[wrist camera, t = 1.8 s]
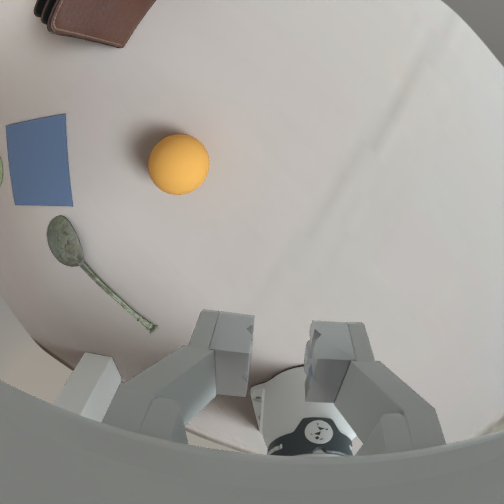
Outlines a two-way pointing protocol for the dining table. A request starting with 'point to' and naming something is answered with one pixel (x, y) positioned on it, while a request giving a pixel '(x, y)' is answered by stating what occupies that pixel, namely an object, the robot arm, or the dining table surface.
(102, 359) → the milk
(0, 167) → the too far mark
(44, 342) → the dining table surface
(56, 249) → the soupspoon
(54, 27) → the letter holder
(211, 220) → the dining table surface
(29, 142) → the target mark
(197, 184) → the ball
